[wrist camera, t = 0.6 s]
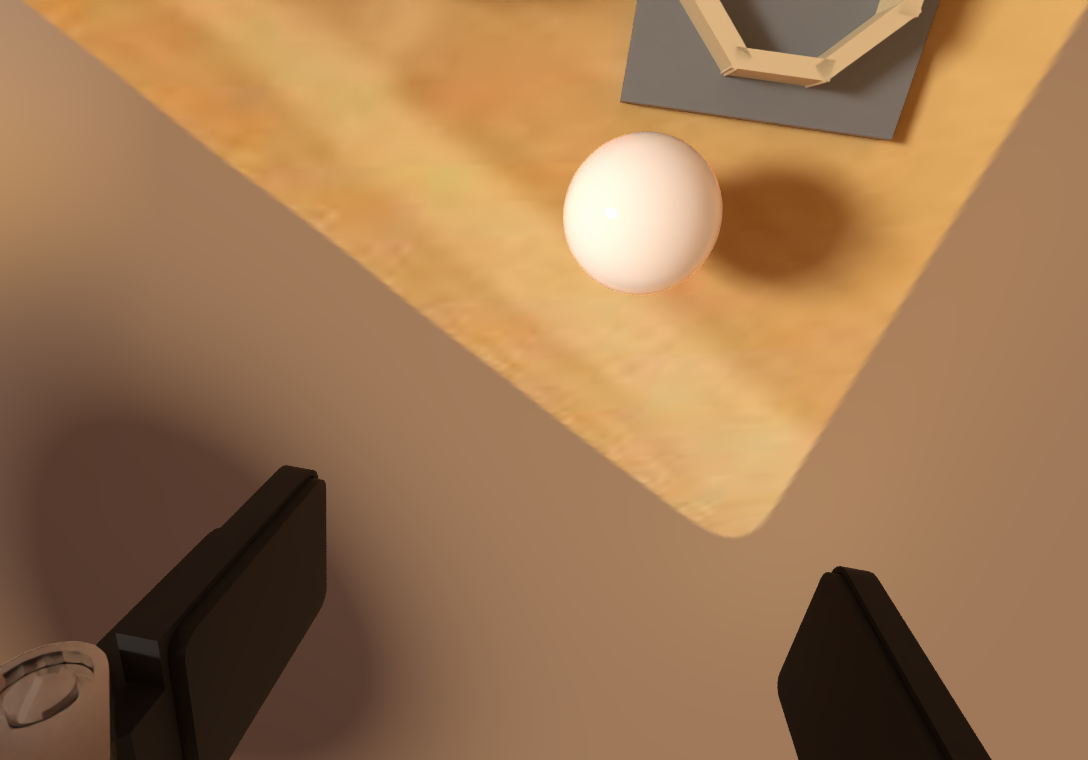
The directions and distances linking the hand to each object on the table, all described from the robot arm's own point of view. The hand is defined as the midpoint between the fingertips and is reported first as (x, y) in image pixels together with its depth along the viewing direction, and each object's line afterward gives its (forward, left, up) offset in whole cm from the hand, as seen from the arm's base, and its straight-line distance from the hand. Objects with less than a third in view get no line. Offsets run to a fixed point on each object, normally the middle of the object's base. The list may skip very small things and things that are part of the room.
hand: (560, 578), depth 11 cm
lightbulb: (-5, +2, -24) cm, 24 cm away
